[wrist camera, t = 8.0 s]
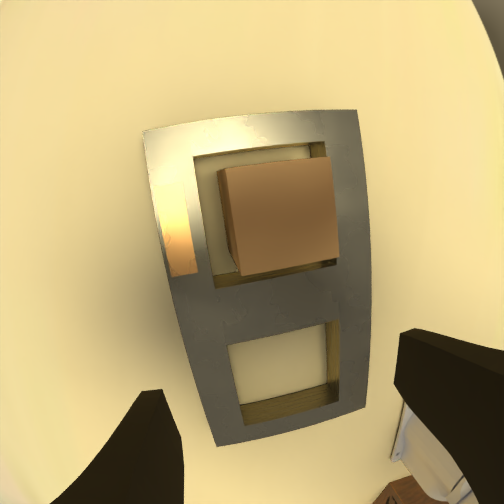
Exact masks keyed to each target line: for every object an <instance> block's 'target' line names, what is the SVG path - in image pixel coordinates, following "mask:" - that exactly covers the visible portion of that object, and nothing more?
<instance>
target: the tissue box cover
mask: <svg viewBox="0 0 504 504" xmlns="http://www.w3.org/2000/svg"><path fill="white" fill-rule="evenodd" d="M373 504H449V503H448V501H439V500H435V499H433V498H431V497H429V496H428V495H427V494H426V493H425V492H424V490H423V489H422V488H421V486H420V485H419V484H418V482H417V481H416V480H415V478H414V477H413V476H412V475H411V476H408V477H405V478H402V479H399V480H396V481H393V482H390V483H389V484H388V485H387V486H386V487H385V489H384V490H383V491H382V493H381V494H380V495H379V496H378V498H377V499H376V500H375V501H374V502H373Z"/></svg>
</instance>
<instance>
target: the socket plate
mask: <svg viewBox="0 0 504 504" xmlns="http://www.w3.org/2000/svg"><path fill="white" fill-rule="evenodd" d="M142 133H143V141H144V149H145V156H146V163H147V170H148V176H149V183H150V189H151V195H152V201H153V207H154V212H155V218H156V223H157V228H158V234H159V239H160V244H161V249H162V253H163V258H164V263H165V267H166V272H167V276H168V281H169V285H170V290H171V294H172V298H173V302H174V306H175V310H176V314H177V318H178V322H179V326H180V330H181V334H182V337H183V341H184V345H185V348H186V352H187V355H188V359H189V362H190V366H191V369H192V373H193V376H194V379H195V383H196V386H197V389H198V392H199V396H200V399H201V402H202V405H203V408H204V411H205V414H206V417H207V420H208V423H209V426H210V429H211V432H212V435H213V438H214V440H215V443H216V446H217V447H219V446H225V445H231V444H236V443H241V442H246V441H251V440H256V439H261V438H265V437H269V436H273V435H278V434H282V433H286V432H289V431H293V430H297V429H300V428H304V427H307V426H311V425H314V424H317V423H321V422H324V421H327V420H330V419H333V418H336V417H339V416H342V415H345V414H348V413H351V412H353V411H356V410H359V409H362V408H364V407H365V405H366V396H367V385H368V372H369V357H370V338H371V244H370V224H369V209H368V196H367V185H366V175H365V165H364V157H363V149H362V141H361V134H360V127H359V120H358V114H357V110H307V111H287V112H273V113H261V114H250V115H240V116H232V117H223V118H216V119H209V120H202V121H195V122H189V123H183V124H177V125H172V126H166V127H161V128H156V129H151V130H146V131H142ZM302 145H310V153H311V158H318V157H330V160H331V168H332V177H333V186H334V195H335V206H336V217H337V229H338V242H339V257H337V258H332V259H327V260H322V261H317V262H312V263H307V264H302V265H297V266H292V267H287V268H282V269H277V270H272V271H267V272H262V273H257V274H251V275H246V276H241V274H240V272H239V271H238V272H233V273H227V274H222V275H216V276H212V271H211V265H210V260H209V254H208V249H207V243H206V237H205V231H204V225H203V220H202V213H201V207H200V201H199V195H198V189H197V182H196V176H195V169H194V162H193V159H198V158H204V157H210V156H217V155H223V154H230V153H238V152H245V151H253V150H262V149H271V148H280V147H290V146H302ZM322 323H326V345H327V384H324V385H321V386H318V387H314V388H311V389H307V390H303V391H300V392H296V393H292V394H288V395H285V396H281V397H276V398H272V399H268V400H264V401H259V402H255V403H250V404H245V405H239V401H238V397H237V392H236V388H235V383H234V379H233V374H232V370H231V365H230V361H229V356H228V351H227V347H226V345H229V344H234V343H239V342H244V341H249V340H254V339H259V338H263V337H268V336H272V335H277V334H281V333H285V332H290V331H294V330H298V329H302V328H306V327H310V326H314V325H318V324H322Z"/></svg>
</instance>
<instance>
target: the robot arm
mask: <svg viewBox="0 0 504 504" xmlns="http://www.w3.org/2000/svg"><path fill="white" fill-rule="evenodd" d="M394 385H395V387H396V388H397V390H398V392H399V393H400V395H401V396H402V398H403V399H404V401H405V404H404V408H403V413H402V417H401V422H400V426H399V430H398V434H397V438H396V442H395V446H394V449H393V453H392V456H391V461H392V462H396V461H398V460H400V459H401V461H402V462H403V463H404V465H405V466H406V468H407V469H408V470H409V472H410V473H411V474H412V476H413V477H414V478H415V480H416V481H417V482H418V484H419V485H420V486H421V488H422V489H423V490H424V492H425V493H426V494H427V495H428V496H429V497H431V498H433V499H435V500H439V501H448V503H449V504H504V351H502V350H498V349H493V348H488V347H484V346H480V345H476V344H473V343H469V342H465V341H462V340H458V339H455V338H451V337H448V336H444V335H441V334H437V333H434V332H430V331H426V330H421V329H416V328H414V329H411V330H408V331H406V332H403V333H400V337H399V347H398V355H397V363H396V371H395V378H394ZM50 504H184V460H183V450H182V441H181V436H180V433H179V431H178V429H177V426H176V424H175V421H174V419H173V416H172V414H171V411H170V409H169V406H168V403H167V401H166V398H165V395H164V393H163V390H162V389H158V390H149V391H141V393H140V394H139V396H138V397H137V398H136V400H135V401H134V403H133V404H132V406H131V407H130V409H129V410H128V412H127V413H126V415H125V416H124V418H123V419H122V421H121V422H120V424H119V425H118V427H117V428H116V430H115V431H114V432H113V434H112V435H111V437H110V438H109V440H108V441H107V442H106V444H105V445H104V446H103V448H102V449H101V450H100V452H99V453H98V454H97V455H96V457H95V458H94V459H93V460H92V462H91V463H90V464H89V465H88V467H87V468H86V469H85V470H84V471H83V472H82V474H81V475H80V476H79V477H78V478H77V479H76V480H75V481H74V482H73V483H72V484H71V485H70V486H69V487H68V488H67V489H66V490H65V491H64V492H63V493H62V494H61V495H60V496H59V497H57V498H56V499H55V500H54V501H53V502H51V503H50Z"/></svg>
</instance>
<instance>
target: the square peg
mask: <svg viewBox="0 0 504 504" xmlns="http://www.w3.org/2000/svg"><path fill="white" fill-rule="evenodd" d="M217 177H218V184H219V191H220V197H221V204H222V210H223V217H224V223H225V230H226V236H227V242H228V248H229V251H230V254H231V256H232V258H233V260H234V262H235V264H236V266H237V268H238V270H239V272H240V274H241V276H246V275H251V274H257V273H262V272H267V271H272V270H277V269H282V268H287V267H292V266H297V265H302V264H307V263H312V262H317V261H322V260H327V259H332V258H337V257H339V242H338V229H337V217H336V206H335V195H334V186H333V177H332V168H331V160H330V157H318V158H307V159H297V160H288V161H279V162H270V163H262V164H254V165H246V166H239V167H232V168H225V169H223V170H220V171H217Z"/></svg>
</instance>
